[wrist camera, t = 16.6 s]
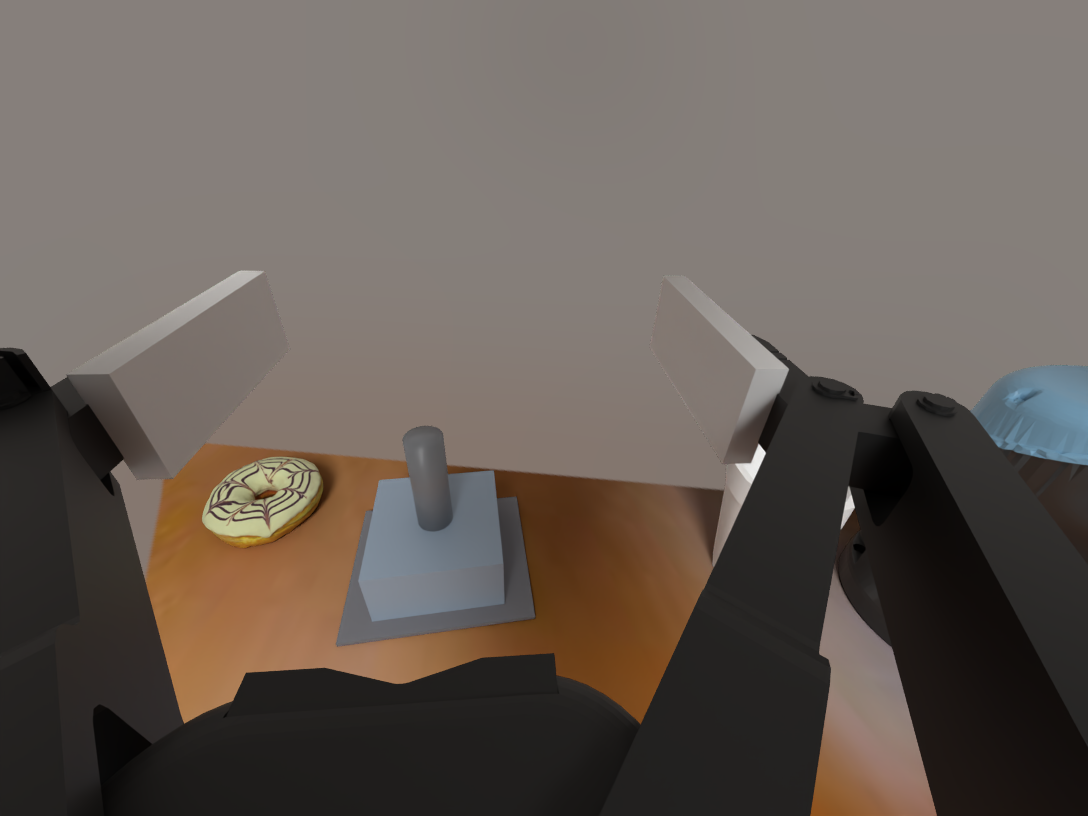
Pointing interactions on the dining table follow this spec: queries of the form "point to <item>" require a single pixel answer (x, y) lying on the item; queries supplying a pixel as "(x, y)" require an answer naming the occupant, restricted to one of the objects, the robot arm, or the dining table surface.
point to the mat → (516, 608)
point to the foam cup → (736, 492)
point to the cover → (432, 537)
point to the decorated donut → (263, 501)
